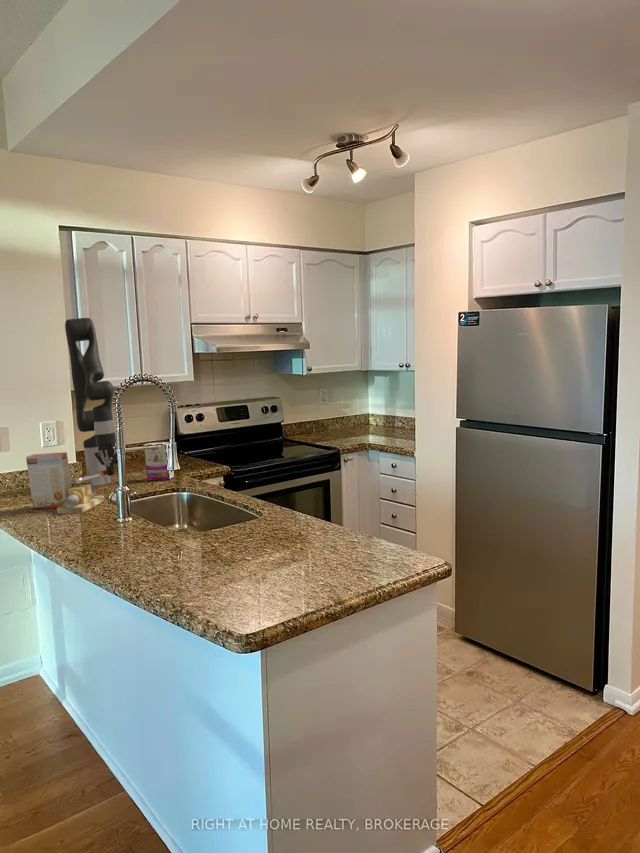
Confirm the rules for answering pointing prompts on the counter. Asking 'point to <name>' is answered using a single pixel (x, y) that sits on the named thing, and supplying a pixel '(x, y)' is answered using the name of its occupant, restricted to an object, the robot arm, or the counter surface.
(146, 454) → the candy bar box
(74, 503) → the valve on pipe
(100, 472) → the valve lever
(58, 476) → the cracker box
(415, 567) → the counter surface
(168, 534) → the counter surface
